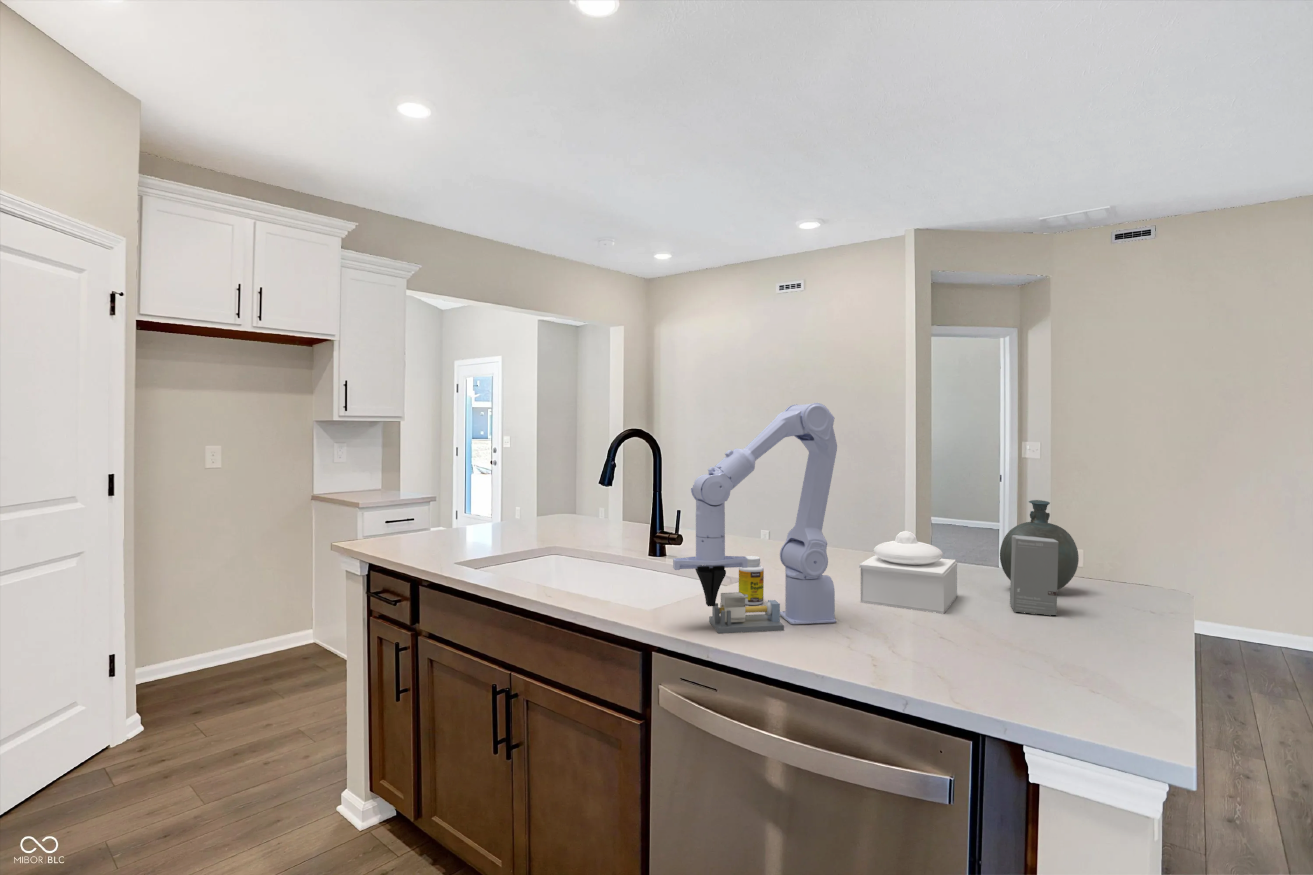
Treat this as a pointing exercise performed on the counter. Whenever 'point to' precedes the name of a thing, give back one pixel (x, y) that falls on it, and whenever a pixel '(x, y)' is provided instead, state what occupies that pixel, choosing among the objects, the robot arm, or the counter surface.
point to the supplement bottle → (752, 581)
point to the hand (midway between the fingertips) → (710, 605)
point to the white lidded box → (909, 576)
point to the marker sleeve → (734, 606)
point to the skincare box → (1034, 575)
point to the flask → (1043, 530)
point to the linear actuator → (748, 619)
